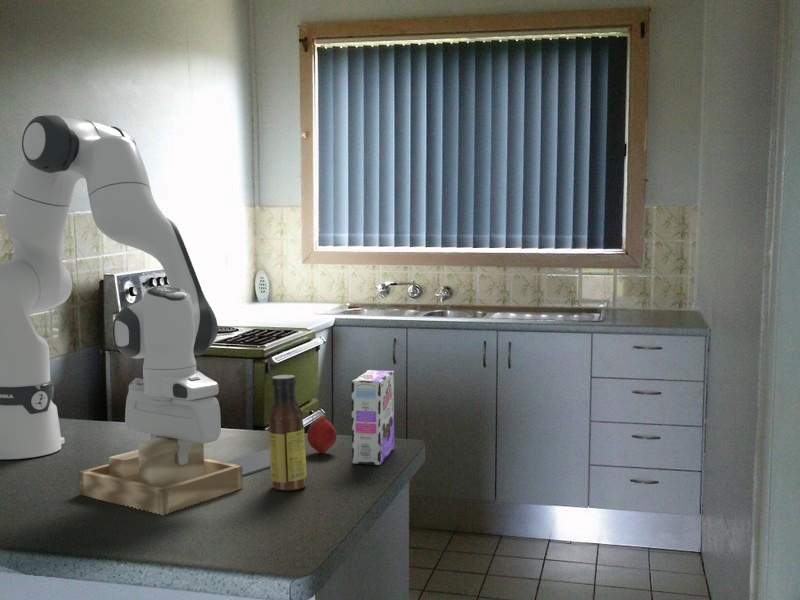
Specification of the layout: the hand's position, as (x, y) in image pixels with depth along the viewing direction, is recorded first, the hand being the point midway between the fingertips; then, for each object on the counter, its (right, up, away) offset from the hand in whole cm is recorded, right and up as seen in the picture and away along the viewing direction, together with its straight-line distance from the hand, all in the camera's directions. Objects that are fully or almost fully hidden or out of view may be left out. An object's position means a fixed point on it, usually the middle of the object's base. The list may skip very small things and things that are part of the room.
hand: (172, 461), depth 165 cm
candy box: (+34, -3, +26) cm, 43 cm away
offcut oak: (-10, -6, +2) cm, 12 cm away
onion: (+23, -3, +28) cm, 37 cm away
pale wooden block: (0, -6, +1) cm, 6 cm away
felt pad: (+11, -4, +21) cm, 24 cm away
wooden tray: (-2, -6, +2) cm, 6 cm away
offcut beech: (-8, -3, +6) cm, 10 cm away
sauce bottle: (+19, -5, +4) cm, 21 cm away
